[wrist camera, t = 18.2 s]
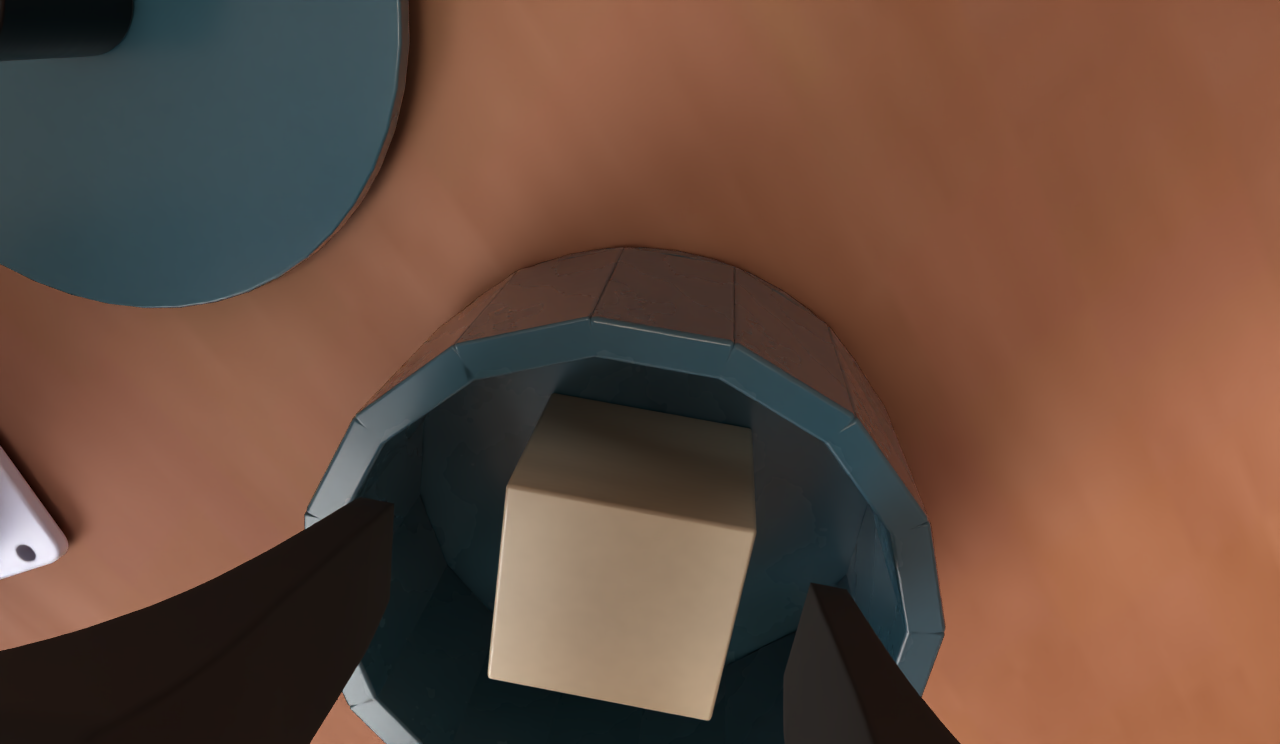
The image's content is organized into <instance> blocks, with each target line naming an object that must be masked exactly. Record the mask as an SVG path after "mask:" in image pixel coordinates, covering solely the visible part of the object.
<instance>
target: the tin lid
mask: <svg viewBox="0 0 1280 744" xmlns="http://www.w3.org/2000/svg"><path fill="white" fill-rule="evenodd" d="M409 44H410V38H409V0H0V264H1V265H3V266H5V267H7V268H9V269H11V270H13V271H15V272H17V273H19V274H21V275H23V276H25V277H27V278H29V279H31V280H33V281H36V282H38V283H41V284H44V285H47V286H49V287H52V288H55V289H57V290H60V291H63V292H66V293H68V294H71V295H75V296H79V297H83V298H87V299H91V300H95V301H100V302H104V303H108V304H116V305H125V306H133V307H142V308H181V307H188V306H194V305H201V304H207V303H214V302H218V301H221V300H224V299H228V298H231V297H234V296H237V295H241V294H244V293H247V292H250V291H252V290H254V289H256V288H258V287H260V286H262V285H264V284H266V283H268V282H270V281H272V280H274V279H276V278H278V277H280V276H282V275H284V274H286V273H287V272H289V271H290V270H292V269H293V268H295V267H296V266H298V265H299V264H300V263H302V262H303V261H305V260H306V259H308V258H309V257H311V256H312V255H313V254H315V253H316V252H317V251H318V250H319V249H320V248H321V247H322V246H323V245H324V244H326V243H327V242H328V241H329V240H330V239H331V238H332V237H333V236H334V235H335V234H336V233H337V232H338V231H339V230H340V229H341V228H342V227H343V225H344V224H345V223H346V222H347V220H348V219H349V218H350V216H351V215H352V214H353V212H354V211H355V210H356V208H357V207H358V206H359V205H360V203H361V202H362V201H363V199H364V197H365V195H366V194H367V192H368V190H369V188H370V186H371V185H372V183H373V181H374V179H375V177H376V175H377V174H378V172H379V170H380V168H381V166H382V164H383V161H384V158H385V156H386V153H387V151H388V148H389V145H390V143H391V140H392V137H393V135H394V132H395V129H396V125H397V121H398V117H399V112H400V108H401V104H402V99H403V95H404V91H405V84H406V74H407V64H408V54H409Z"/></svg>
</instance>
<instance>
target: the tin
mask: <svg viewBox="0 0 1280 744" xmlns="http://www.w3.org/2000/svg"><path fill="white" fill-rule="evenodd" d="M553 393H556V394H562V395H567V396H573V397H578V398H584V399H589V400H595V401H601V402H606V403H612V404H617V405H623V406H628V407H634V408H639V409H645V410H650V411H656V412H661V413H667V414H673V415H678V416H684V417H689V418H695V419H700V420H706V421H711V422H717V423H722V424H728V425H733V426H739V427H745V428H749V429H751V430H752V443H753V465H754V487H755V508H756V530H757V533H756V537H755V541H754V546H753V550H752V554H751V558H750V562H749V566H748V570H747V574H746V578H745V583H744V587H743V591H742V595H741V599H740V603H739V607H738V611H737V615H736V620H735V624H734V628H733V632H732V636H731V640H730V644H729V648H728V652H727V657H726V661H725V665H724V669H723V673H722V677H721V681H720V685H719V690H718V694H717V698H716V702H715V706H714V710H713V714H712V717H711V719H710V720H701V719H696V718H691V717H686V716H681V715H676V714H670V713H665V712H660V711H655V710H650V709H645V708H639V707H634V706H629V705H624V704H619V703H614V702H608V701H603V700H598V699H593V698H588V697H582V696H577V695H572V694H567V693H562V692H557V691H551V690H546V689H541V688H536V687H531V686H526V685H520V684H515V683H510V682H505V681H500V680H495V679H490V678H488V674H487V673H488V663H489V653H490V643H491V633H492V623H493V613H494V603H495V593H496V583H497V573H498V563H499V553H500V543H501V533H502V523H503V514H504V504H505V494H506V486H507V484H508V482H509V480H510V478H511V476H512V474H513V472H514V469H515V467H516V465H517V463H518V461H519V459H520V457H521V455H522V453H523V451H524V449H525V447H526V445H527V443H528V441H529V439H530V437H531V435H532V433H533V431H534V429H535V427H536V424H537V422H538V420H539V418H540V416H541V414H542V412H543V410H544V408H545V406H546V404H547V402H548V400H549V398H550V396H551V394H553ZM359 497H363V498H368V499H373V500H379V501H384V502H389V503H394V520H393V541H392V562H391V583H390V600H389V603H388V605H387V607H386V609H385V612H384V614H383V616H382V619H381V621H380V623H379V625H378V628H377V630H376V632H375V634H374V636H373V638H372V641H371V643H370V645H369V647H368V649H367V651H366V653H365V655H364V656H363V658H362V660H361V661H360V663H359V665H358V666H357V668H356V670H355V671H354V673H353V674H352V676H351V678H350V679H349V681H348V683H347V684H346V686H345V687H344V689H343V691H342V693H343V695H344V697H345V699H346V701H347V703H348V705H349V706H350V709H351V710H352V711H353V712H354V713H355V714H356V715H357V716H358V717H359V718H360V719H361V720H362V721H363V722H364V723H365V724H366V725H367V726H368V727H369V728H370V729H371V730H372V731H373V732H374V733H376V734H377V735H378V736H379V737H380V738H381V739H382V740H383V741H384V742H385V743H386V744H785V741H784V732H783V683H784V673H785V669H786V666H787V662H788V659H789V655H790V652H791V648H792V645H793V642H794V638H795V635H796V631H797V628H798V624H799V621H800V617H801V614H802V610H803V607H804V603H805V600H806V597H807V593H808V590H809V586H810V583H816V584H821V585H826V586H832V587H837V588H842V589H847V591H848V592H849V594H850V595H851V597H852V598H853V600H854V601H855V603H856V604H857V606H858V607H859V609H860V610H861V612H862V613H863V615H864V617H865V618H866V620H867V621H868V623H869V624H870V626H871V627H872V629H873V630H874V632H875V633H876V635H877V636H878V638H879V639H880V641H881V642H882V644H883V645H884V647H885V648H886V650H887V651H888V653H889V654H890V655H891V657H892V658H893V660H894V661H895V663H896V664H897V665H898V667H899V668H900V670H901V671H902V672H903V674H904V675H905V677H906V678H907V679H908V681H909V682H910V683H911V685H912V686H913V687H914V688H915V690H916V691H917V692H918V694H919V695H920V696H921V697H922V695H923V692H924V689H925V687H926V684H927V681H928V678H929V676H930V673H931V670H932V668H933V665H934V662H935V659H936V657H937V654H938V651H939V649H940V646H941V643H942V640H943V638H944V635H945V634H944V631H945V620H944V613H943V606H942V599H941V592H940V585H939V578H938V571H937V564H936V557H935V549H934V542H933V535H932V528H931V523H930V520H929V518H928V515H927V513H926V510H925V508H924V505H923V503H922V500H921V498H920V495H919V493H918V490H917V487H916V485H915V482H914V480H913V477H912V475H911V472H910V470H909V467H908V465H907V462H906V460H905V457H904V454H903V452H902V449H901V447H900V444H899V442H898V439H897V437H896V434H895V432H894V429H893V427H892V424H891V421H890V419H889V416H888V414H887V412H886V409H885V406H884V405H883V403H882V402H881V401H880V399H879V398H878V396H877V395H876V393H875V392H874V390H873V389H872V387H871V386H870V384H869V383H868V381H867V379H866V378H865V376H864V374H863V372H862V371H861V369H860V367H859V366H858V364H857V362H856V360H855V359H854V358H853V357H852V355H851V354H850V353H849V352H848V350H847V349H846V348H845V347H844V345H843V344H842V343H841V342H840V340H839V339H838V338H837V336H836V335H835V333H834V332H833V330H832V329H831V328H830V327H827V324H826V323H825V322H823V321H822V320H820V319H818V318H817V317H816V316H815V315H814V314H813V313H812V312H811V311H810V310H808V309H807V308H806V307H804V306H803V305H802V304H800V303H799V302H797V301H796V300H795V299H793V298H792V297H790V296H789V295H788V294H786V293H785V292H784V291H782V290H781V289H779V288H777V287H775V286H773V285H771V284H770V283H768V282H766V281H764V280H762V279H760V278H758V277H757V276H755V275H753V274H751V273H749V272H746V271H744V270H741V269H738V268H736V267H733V266H730V265H728V264H725V263H723V262H720V261H717V260H714V259H710V258H706V257H702V256H697V255H693V254H689V253H685V252H681V251H672V250H663V249H654V248H644V247H643V248H623V247H619V248H607V249H600V250H593V251H587V252H580V253H574V254H570V255H567V256H563V257H560V258H557V259H553V260H550V261H546V262H543V263H540V264H538V265H535V266H533V267H529V268H524V269H520V270H519V271H516V272H514V273H513V274H512V275H510V276H509V277H508V278H506V279H505V280H503V281H502V282H501V283H499V284H498V285H496V286H494V287H493V288H491V289H490V290H488V291H487V292H485V293H483V294H482V295H481V296H479V297H478V298H477V299H476V300H475V301H474V302H472V303H471V304H470V305H469V306H468V307H467V308H465V309H464V310H462V311H461V312H460V313H458V314H457V315H456V316H454V317H453V318H452V319H450V320H449V321H447V322H446V323H445V324H443V325H442V326H441V327H439V328H438V329H437V330H436V331H435V333H434V334H433V335H432V336H431V337H430V338H429V339H428V340H427V341H426V342H425V343H424V344H423V345H422V346H421V347H420V348H419V349H418V350H417V351H416V352H415V353H414V354H413V355H412V356H411V357H410V359H409V360H408V361H407V362H406V363H405V364H404V365H403V366H402V367H401V368H400V369H399V370H398V371H397V372H396V373H395V374H394V375H393V376H392V377H391V378H390V379H389V380H388V381H387V382H386V383H385V385H384V386H383V387H382V388H381V389H380V390H379V391H378V392H377V393H376V394H375V395H374V396H373V397H372V398H371V399H370V400H369V401H368V402H367V403H366V404H365V405H364V406H363V407H362V408H361V409H360V411H359V412H358V413H357V414H356V416H355V417H354V418H353V419H352V421H351V423H350V425H349V427H348V429H347V431H346V433H345V435H344V437H343V439H342V440H341V442H340V444H339V446H338V448H337V450H336V452H335V454H334V456H333V458H332V460H331V462H330V464H329V466H328V468H327V470H326V472H325V474H324V476H323V477H322V479H321V481H320V483H319V485H318V487H317V489H316V491H315V493H314V495H313V497H312V499H311V501H310V503H309V505H308V507H307V511H306V512H305V515H304V517H305V529H306V528H308V527H310V526H311V525H313V524H315V523H316V522H318V521H320V520H321V519H323V518H325V517H326V516H328V515H330V514H331V513H333V512H335V511H336V510H338V509H340V508H341V507H343V506H345V505H346V504H348V503H350V502H352V501H353V500H355V499H357V498H359Z"/></svg>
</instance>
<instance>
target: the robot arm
mask: <svg viewBox="0 0 1280 744" xmlns="http://www.w3.org/2000/svg"><path fill="white" fill-rule="evenodd" d="M393 520H394V503H389V502H384V501H379V500H373V499H368V498H363V497H359V498H357V499H355V500H353V501H352V502H350V503H348V504H346V505H345V506H343V507H341V508H340V509H338V510H336V511H335V512H333V513H331V514H330V515H328V516H326V517H325V518H323V519H321V520H320V521H318V522H316V523H315V524H313V525H311V526H310V527H308V528H306V529H305V530H303V531H301V532H300V533H298V534H296V535H294V536H293V537H291V538H289V539H287V540H286V541H284V542H282V543H281V544H279V545H277V546H275V547H274V548H272V549H270V550H268V551H267V552H265V553H263V554H261V555H259V556H257V557H255V558H253V559H251V560H249V561H247V562H245V563H243V564H242V565H240V566H238V567H236V568H234V569H232V570H230V571H228V572H226V573H224V574H222V575H220V576H218V577H216V578H214V579H212V580H210V581H208V582H206V583H204V584H201V585H199V586H197V587H195V588H193V589H190V590H188V591H186V592H183V593H181V594H178V595H176V596H174V597H171V598H169V599H166V600H164V601H162V602H159V603H157V604H154V605H152V606H149V607H146V608H144V609H141V610H138V611H135V612H132V613H129V614H126V615H123V616H120V617H117V618H114V619H112V620H109V621H106V622H103V623H100V624H97V625H94V626H91V627H88V628H85V629H82V630H79V631H75V632H72V633H68V634H65V635H61V636H58V637H54V638H51V639H47V640H43V641H39V642H35V643H31V644H27V645H24V646H20V647H16V648H12V649H7V650H3V651H0V744H310V742H311V740H312V739H313V737H314V736H315V734H316V732H317V731H318V729H319V728H320V726H321V724H322V723H323V721H324V720H325V718H326V716H327V715H328V713H329V712H330V710H331V708H332V707H333V705H334V704H335V702H336V700H337V699H338V697H339V696H340V694H341V692H342V691H343V689H344V687H345V686H346V684H347V683H348V681H349V679H350V678H351V676H352V674H353V673H354V671H355V670H356V668H357V666H358V665H359V663H360V661H361V660H362V658H363V656H364V655H365V653H366V651H367V649H368V647H369V645H370V643H371V641H372V638H373V636H374V634H375V632H376V630H377V628H378V625H379V623H380V621H381V619H382V616H383V614H384V612H385V609H386V607H387V605H388V603H389V600H390V583H391V562H392V541H393ZM30 547H31V548H32V549H33V550H32V549H31V548H30ZM67 550H68V541H67V539H66V537H65V535H64V533H63V532H62V531H61V529H60V528H59V526H58V525H57V524H56V522H55V521H54V520H53V518H52V517H51V515H50V514H49V513H48V511H47V510H46V508H45V507H44V506H43V504H42V503H41V501H40V500H39V499H38V497H37V496H36V494H35V493H34V492H33V490H32V489H31V488H30V486H29V485H28V483H27V482H26V481H25V479H24V478H23V476H22V475H21V474H20V472H19V471H18V469H17V468H16V467H15V465H14V464H13V462H12V461H11V460H10V458H9V457H8V455H7V454H6V453H5V451H4V450H3V449H2V447H1V446H0V580H1V579H4V578H7V577H10V576H13V575H16V574H19V573H22V572H26V571H29V570H32V569H35V568H38V567H41V566H44V565H47V564H50V563H53V562H55V561H56V560H58V559H59V558H60V557H62V556H63V555H64V554H65V553H66V552H67ZM783 732H784V741H785V744H960V743H959V742H958V740H957V739H956V738H955V737H954V736H953V735H952V734H951V733H950V731H949V730H948V729H947V728H946V727H945V726H944V725H943V723H942V722H941V721H940V720H939V718H938V717H937V716H936V715H935V714H934V712H933V711H932V710H931V709H930V707H929V706H928V705H927V704H926V702H925V701H924V700H923V699H922V698H921V696H920V695H919V694H918V692H917V691H916V690H915V688H914V687H913V686H912V685H911V683H910V682H909V681H908V679H907V678H906V677H905V675H904V674H903V672H902V671H901V670H900V668H899V667H898V665H897V664H896V663H895V661H894V660H893V658H892V657H891V655H890V654H889V653H888V651H887V650H886V648H885V647H884V645H883V644H882V642H881V641H880V639H879V638H878V636H877V635H876V633H875V632H874V630H873V629H872V627H871V626H870V624H869V623H868V621H867V620H866V618H865V617H864V615H863V613H862V612H861V610H860V609H859V607H858V606H857V604H856V603H855V601H854V600H853V598H852V597H851V595H850V594H849V592H848V591H847V589H842V588H837V587H832V586H826V585H821V584H816V583H810V586H809V590H808V593H807V597H806V600H805V603H804V607H803V610H802V614H801V617H800V621H799V624H798V628H797V631H796V635H795V638H794V642H793V645H792V648H791V652H790V655H789V659H788V662H787V666H786V669H785V673H784V683H783Z"/></svg>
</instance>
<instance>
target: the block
mask: <svg viewBox="0 0 1280 744" xmlns="http://www.w3.org/2000/svg"><path fill="white" fill-rule="evenodd" d="M756 533H757V530H756V508H755V487H754V465H753V443H752V430H751V429H749V428H745V427H739V426H733V425H728V424H722V423H717V422H711V421H706V420H700V419H695V418H689V417H684V416H678V415H673V414H667V413H661V412H656V411H650V410H645V409H639V408H634V407H628V406H623V405H617V404H612V403H606V402H601V401H595V400H589V399H584V398H578V397H573V396H567V395H562V394H556V393H553V394H551V396H550V398H549V400H548V402H547V404H546V406H545V408H544V410H543V412H542V414H541V416H540V418H539V420H538V422H537V424H536V427H535V429H534V431H533V433H532V435H531V437H530V439H529V441H528V443H527V445H526V447H525V449H524V451H523V453H522V455H521V457H520V459H519V461H518V463H517V465H516V467H515V469H514V472H513V474H512V476H511V478H510V480H509V482H508V484H507V486H506V494H505V504H504V514H503V523H502V533H501V543H500V553H499V563H498V573H497V583H496V593H495V603H494V613H493V623H492V633H491V643H490V653H489V663H488V673H487V674H488V678H490V679H495V680H500V681H505V682H510V683H515V684H520V685H526V686H531V687H536V688H541V689H546V690H551V691H557V692H562V693H567V694H572V695H577V696H582V697H588V698H593V699H598V700H603V701H608V702H614V703H619V704H624V705H629V706H634V707H639V708H645V709H650V710H655V711H660V712H665V713H670V714H676V715H681V716H686V717H691V718H696V719H701V720H710V719H711V717H712V714H713V710H714V706H715V702H716V698H717V694H718V690H719V685H720V681H721V677H722V673H723V669H724V665H725V661H726V657H727V652H728V648H729V644H730V640H731V636H732V632H733V628H734V624H735V620H736V615H737V611H738V607H739V603H740V599H741V595H742V591H743V587H744V583H745V578H746V574H747V570H748V566H749V562H750V558H751V554H752V550H753V546H754V541H755V537H756Z"/></svg>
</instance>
